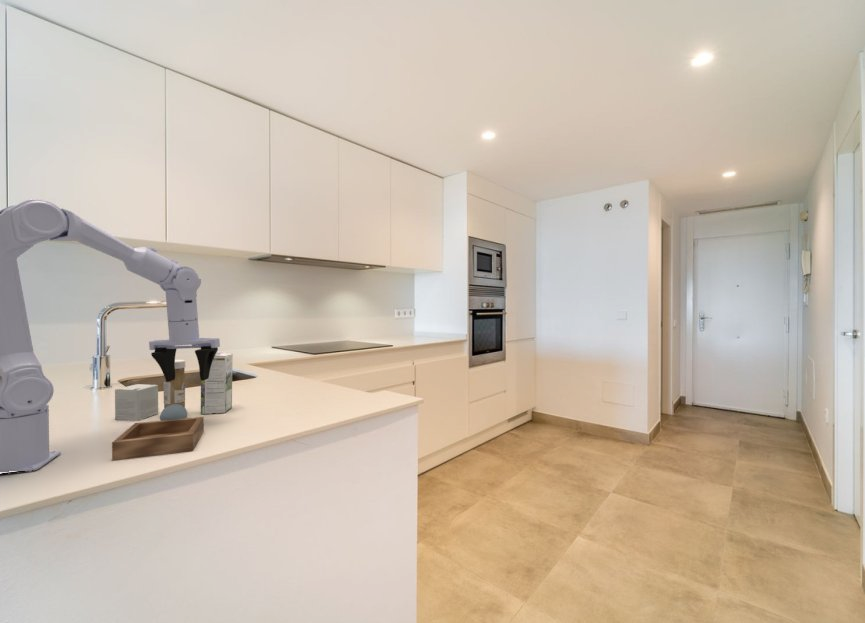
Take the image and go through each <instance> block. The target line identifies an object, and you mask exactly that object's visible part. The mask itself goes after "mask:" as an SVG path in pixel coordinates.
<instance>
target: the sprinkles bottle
mask: <svg viewBox="0 0 865 623" xmlns="http://www.w3.org/2000/svg"><path fill="white" fill-rule="evenodd" d="M185 368H186V360H185V359H175V380H172V381H170V382H166V379H165V377H164V376H163V384H162V385H163V408H166V407H167V406H169V405H173V404H179V405H182V406H183V407H184V408H185V409H186V382H185V380H186V379H185V376H186V374H185V373H186V372H185V371H186V370H185Z"/></svg>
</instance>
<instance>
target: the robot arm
mask: <svg viewBox="0 0 865 623" xmlns="http://www.w3.org/2000/svg"><path fill="white" fill-rule="evenodd" d="M48 240H49V241H59V242H61V241H65V242H67V241H68V242H78V243H80V244H82V245H84V246H87V247H88V248H91V249H93V250H95V251H98V252H101V253H103V254H105V255H107V256H110V257H112V258H115V259H118V260H119V261H121V262H123V264H124V266H125V268H126V270H127V271H129V272H131V273H133V274H135V275H137V276H139V277H142V278H143V279H146V280H148V281H151V282H152V283H154V284H156V285H159V287H160V289H161V290H163V291H164V292H165V303H166V315H167V327H168V328H167V331H168V339H157V340H156V339H155V340H150V341H148V346H149V350H150V351H153V352H151V353H150V355H151V357H152V358H153V359H154V360H155V362H156V363H157V364H158V366H159V368H160V369H161V371H162V374H163V378H164V377H165V379H166V382H170V381H172V380H175V360H176V353H177V350H179V349H181V350H182V349H196V350H194V353H195V356H196V358H197V362H198V369H199V378H200V381H201V380H206V379H208V378H209V373H210V368H211V364H212V361H213V359H214V357H215V354H216V353H218V351H219V350H218V349H219V347H221V344H220V343H221V340H220V338H219V337H217V338H215V337H214V338H213V337H212V338H211V337H210V338H209V337H208V338H207V337H206V338H205V337H200V331H199V330H200V328H199V318H198V317H199V316H198V313H199V312H198V303H197V297H198V296H197V294H198V293H197V291H198V289H199V288H200V287H201V284H202V279H201V278H199V274H198V273H197V271H195V269H194V268H192V267H190V266H180V265H179V261H177V260H175V259H173V260H172V259H169V258H167V257H165V256H163V255H161V254H159V253H157V251H158V249H156V248H155V247H152V246H150V247H146V246H144V245H143V246H137V247H133V246H131V245H130V244H127V243H126V242H124V241H122V240H120V239H119V238H117V237H115V236H113V235H112V234H111V233H108V232H106V231H105V230H103V229H101V228H99V227H97V226H96V225H94V224H92V223H91V222H89V221H87V220H85V219H83V218H81V217H80V216H79V215H78V214H76V213H74V212H72V211H71V210H69V209H66V208H63V207H62V208H61V207H60V206H57V205H56V204H55V203H52V202H51V201H48V200H45V199H39V198H35V199H34V198H31V199H26V200H24V201H21V202H19V203H18V204H15V205H10V206H7V207H5V208H3V209H1V210H0V472H9V471H25V472H33V471H37V470H39V469H40V468H42V467H44V466H45V465H46V464H48V463H49V462H51V461H52V460H54V459H55V458H56V457H58V456H59V455H60V454H61V453H62V451H61V450H56V451H55V450H54V451H50V412H49V411H50V409H49V402H51V400H52V399H53V395H54V385H53V383H52V382H51V380H49V378H47V377H46V376H45V374H44V371H43V368H42V367H43V366H42V364H41V363H40V361H39V359H38V357H37V356H36V354H35V352H34V348H33V342H32V336H31V330H30V327H29V326H30V325H29V321H28V320H29V318H28V314H27V309H26V304H25V298H24V292H23V286H22V281H21V276H20V270H19V264H18V260H17V259H18V258H19V257H21V256H22V255H23V254H25V253H26V252H27V251H29V250H30V249H31V248H33V247H34V246H35V245H37V244H39V243H41V242H45V241H48ZM32 470H33V471H32Z"/></svg>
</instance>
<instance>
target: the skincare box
mask: <svg viewBox="0 0 865 623" xmlns="http://www.w3.org/2000/svg"><path fill="white" fill-rule="evenodd" d="M158 414H159V385H158V384H142V383H141V384H140V383H137V384H132V385H128V386H123V387H120V388H115V389H114V420H115V421H128V420H129V421H132V422H133V421H134V422H139V421H142V420H146V419H147V418H150V417H153V416H156V415H158Z"/></svg>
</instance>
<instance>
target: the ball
mask: <svg viewBox="0 0 865 623" xmlns="http://www.w3.org/2000/svg"><path fill="white" fill-rule="evenodd" d="M163 408H164V407H163ZM184 418H188V410H187V409H186V407H185V408H184V407H183V406H182V405H179V404H173V405H169V406H167V407H166V408H164V409H162V410H161V412H160V416H159V421H162V420H173V419H184Z"/></svg>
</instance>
